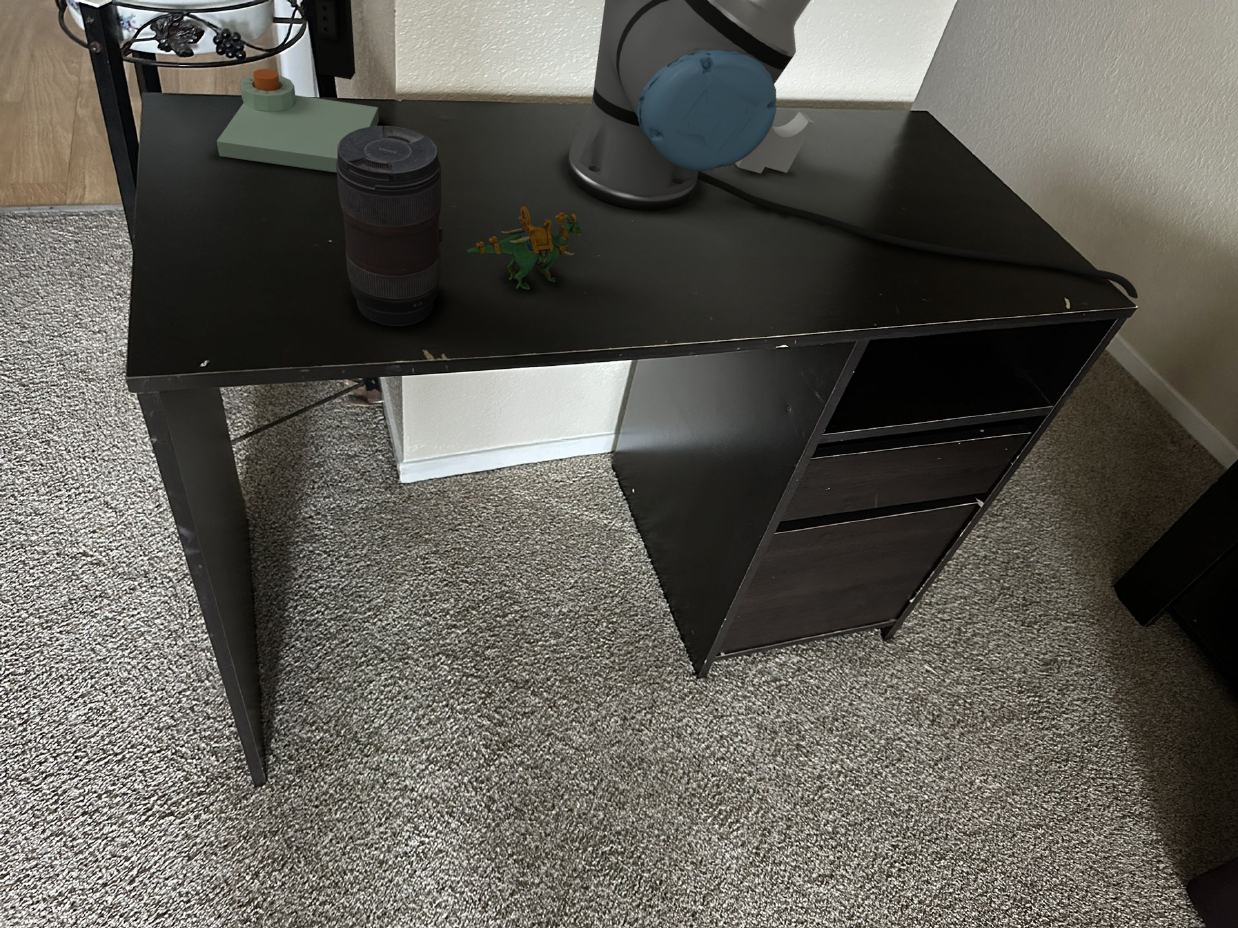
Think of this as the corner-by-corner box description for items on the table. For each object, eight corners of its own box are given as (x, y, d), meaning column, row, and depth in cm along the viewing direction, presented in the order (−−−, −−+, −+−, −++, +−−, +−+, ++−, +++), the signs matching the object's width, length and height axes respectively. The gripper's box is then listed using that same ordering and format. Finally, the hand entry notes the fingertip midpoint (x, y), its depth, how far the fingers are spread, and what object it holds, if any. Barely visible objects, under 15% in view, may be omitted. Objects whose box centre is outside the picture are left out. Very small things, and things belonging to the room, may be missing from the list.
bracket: (783, 179, 109) (814, 123, 104) (738, 167, 105) (769, 108, 101) (740, 130, 117) (768, 76, 112) (697, 117, 113) (724, 61, 109)
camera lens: (366, 270, 81) (355, 114, 70) (450, 288, 81) (453, 135, 71) (334, 320, 75) (317, 159, 65) (425, 339, 76) (424, 182, 65)
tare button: (282, 84, 97) (281, 71, 96) (276, 94, 96) (274, 80, 94) (258, 81, 97) (256, 67, 96) (252, 91, 95) (250, 76, 94)
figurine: (583, 279, 86) (594, 205, 80) (472, 304, 80) (475, 226, 74) (568, 262, 87) (577, 188, 81) (458, 285, 82) (460, 208, 76)
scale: (379, 119, 102) (378, 90, 99) (355, 175, 92) (353, 144, 90) (253, 101, 100) (249, 70, 98) (215, 156, 91) (209, 123, 88)
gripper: (281, -312, 61) (314, 37, 77) (212, -293, 52) (266, 98, 68) (389, -290, 61) (398, 52, 78) (340, -267, 52) (362, 114, 69)
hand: (337, 73), depth 73 cm, fingers closed
